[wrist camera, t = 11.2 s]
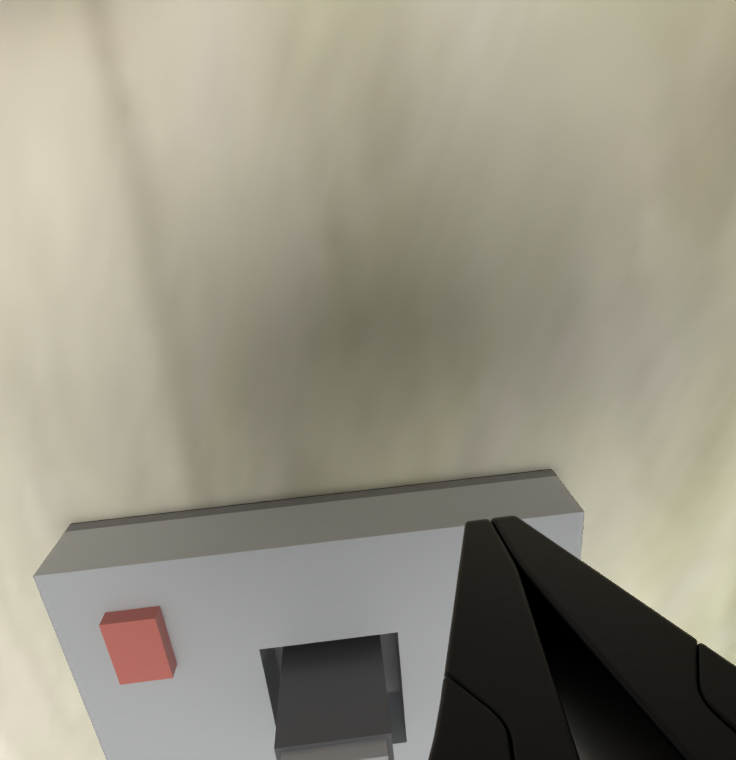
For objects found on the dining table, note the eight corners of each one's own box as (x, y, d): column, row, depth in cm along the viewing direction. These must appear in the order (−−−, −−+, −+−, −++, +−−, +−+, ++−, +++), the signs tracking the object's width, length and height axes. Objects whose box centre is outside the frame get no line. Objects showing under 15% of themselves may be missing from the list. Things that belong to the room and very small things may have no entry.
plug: (375, 600, 24) (393, 751, 18) (384, 681, 25) (402, 842, 19) (285, 612, 23) (272, 767, 17) (300, 691, 25) (293, 857, 19)
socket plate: (552, 469, 22) (591, 521, 19) (538, 727, 28) (566, 802, 25) (70, 524, 22) (24, 588, 18) (159, 778, 28) (137, 862, 24)
